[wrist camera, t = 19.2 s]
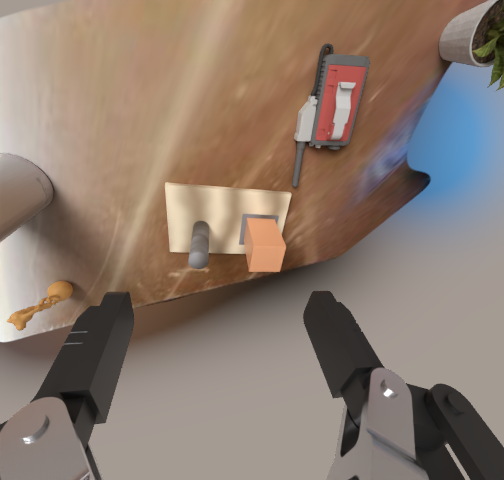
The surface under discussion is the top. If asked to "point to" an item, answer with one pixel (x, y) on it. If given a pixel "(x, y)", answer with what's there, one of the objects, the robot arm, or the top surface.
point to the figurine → (42, 303)
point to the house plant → (477, 38)
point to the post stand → (217, 218)
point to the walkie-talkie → (331, 104)
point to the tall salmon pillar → (263, 245)
